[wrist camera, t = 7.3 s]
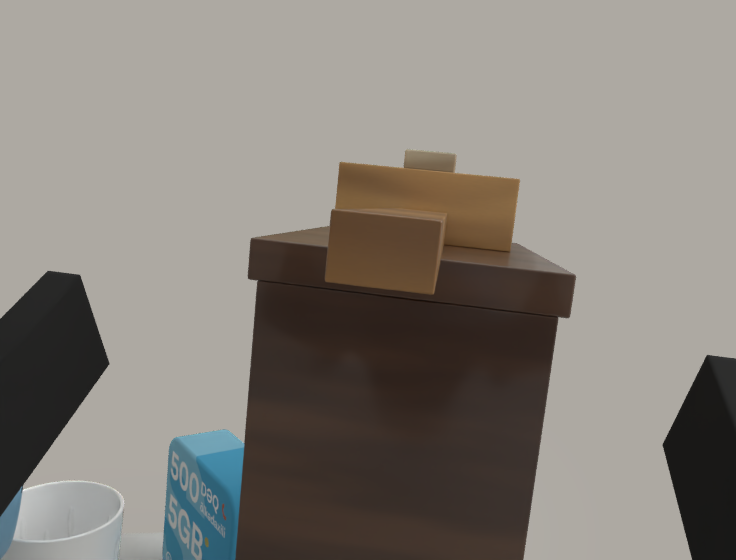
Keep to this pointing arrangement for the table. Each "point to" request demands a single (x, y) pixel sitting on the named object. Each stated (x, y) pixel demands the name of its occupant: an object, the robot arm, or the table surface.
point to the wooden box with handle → (413, 220)
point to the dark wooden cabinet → (395, 406)
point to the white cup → (68, 522)
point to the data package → (203, 496)
